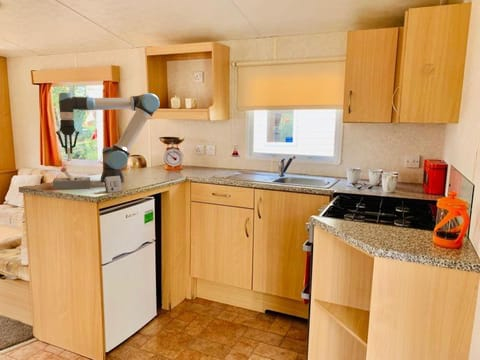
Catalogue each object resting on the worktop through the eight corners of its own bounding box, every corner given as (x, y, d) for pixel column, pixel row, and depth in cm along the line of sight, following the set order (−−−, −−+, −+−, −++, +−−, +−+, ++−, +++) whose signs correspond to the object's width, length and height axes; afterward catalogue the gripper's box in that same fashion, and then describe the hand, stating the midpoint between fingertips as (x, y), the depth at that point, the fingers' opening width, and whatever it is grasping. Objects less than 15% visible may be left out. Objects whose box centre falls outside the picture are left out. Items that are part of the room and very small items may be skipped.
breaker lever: (75, 178, 224) (64, 166, 220) (75, 180, 218) (64, 167, 215) (71, 181, 223) (60, 168, 220) (71, 182, 218) (60, 170, 214)
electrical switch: (108, 193, 206) (107, 177, 205) (103, 193, 209) (102, 177, 208) (122, 191, 213) (121, 175, 212) (117, 191, 216) (116, 175, 216)
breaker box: (90, 185, 231) (89, 176, 230) (90, 188, 219) (90, 180, 218) (55, 186, 223) (54, 177, 222) (53, 189, 211) (52, 181, 210)
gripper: (54, 119, 209) (56, 160, 213) (78, 119, 214) (81, 159, 218) (55, 119, 216) (57, 158, 220) (79, 119, 221) (81, 158, 225)
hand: (69, 159), depth 219 cm, fingers closed
